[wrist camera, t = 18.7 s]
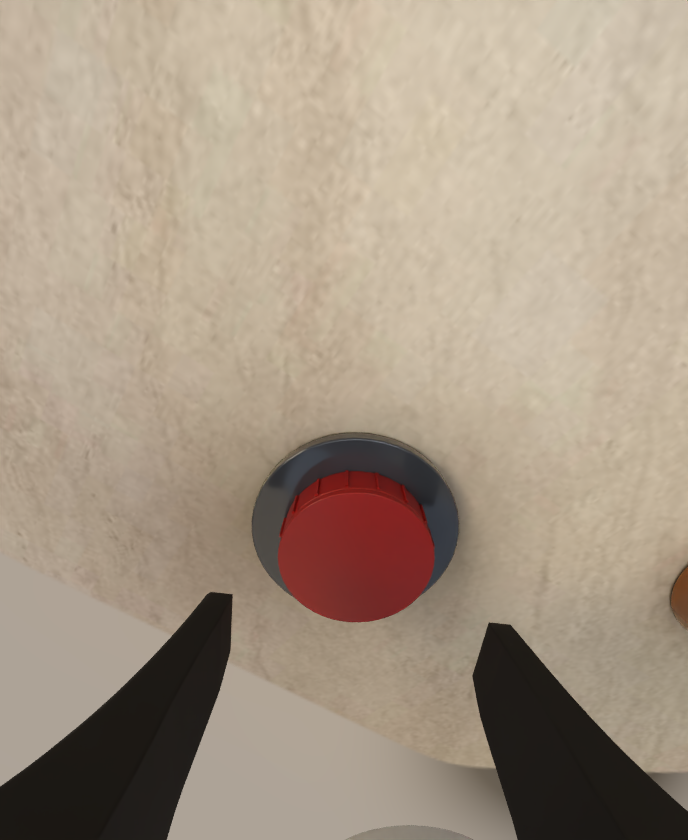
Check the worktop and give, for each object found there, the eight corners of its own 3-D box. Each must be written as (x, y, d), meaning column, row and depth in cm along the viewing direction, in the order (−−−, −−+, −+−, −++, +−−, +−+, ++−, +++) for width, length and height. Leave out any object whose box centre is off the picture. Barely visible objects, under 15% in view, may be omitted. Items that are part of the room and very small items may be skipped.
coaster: (434, 613, 18) (436, 625, 17) (250, 594, 18) (246, 604, 17) (476, 445, 15) (481, 452, 15) (259, 419, 15) (256, 425, 14)
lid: (364, 440, 14) (366, 460, 13) (456, 541, 16) (467, 569, 14) (253, 526, 16) (243, 553, 14) (347, 613, 17) (347, 646, 16)
